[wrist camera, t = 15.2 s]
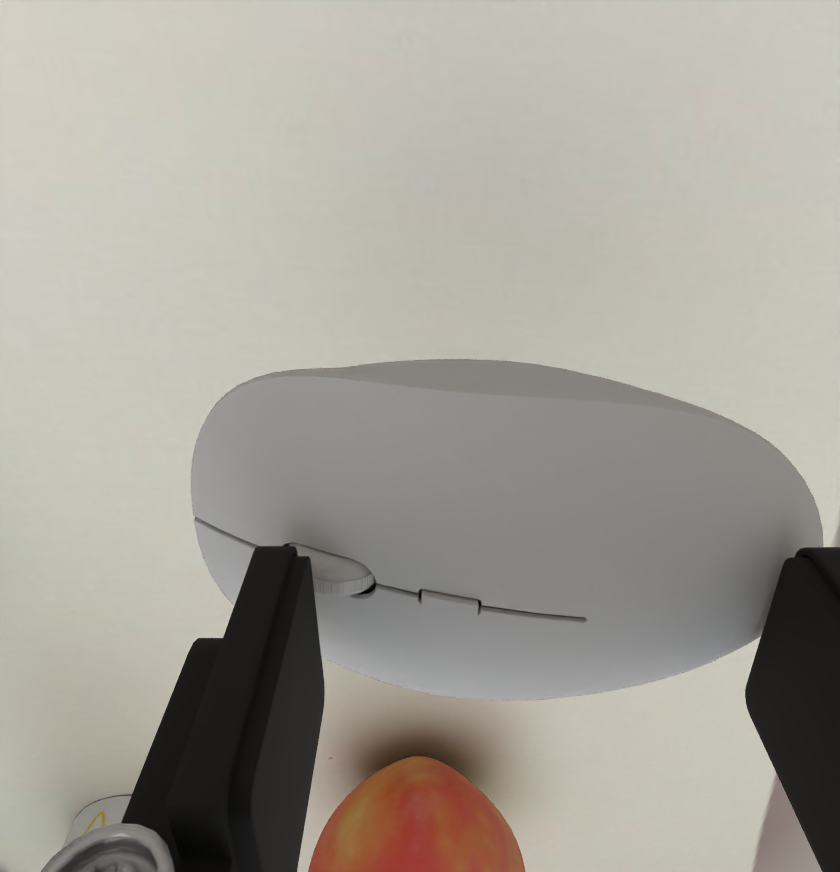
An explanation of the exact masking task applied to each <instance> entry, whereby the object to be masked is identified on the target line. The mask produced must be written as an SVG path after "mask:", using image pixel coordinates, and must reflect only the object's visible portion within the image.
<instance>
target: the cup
mask: <svg viewBox="0 0 840 872" xmlns="http://www.w3.org/2000/svg"><path fill="white" fill-rule="evenodd" d="M130 799H131V796H117V797H111V798H106V799H103V800H100V801H97V802H95V803H93V804H91V805H89V806H87V807H86V808H84V809H83V810H82V811H81V812H80V813H79V814H78V816H77V817H76V819H75V821H74V823H73V825H72V827H71V830H70V832H69V834H68V836H67V838H66V841H65V843H64V845H63V847H62V849H63V848H64V847H65V846H67V845H68V844H69V843H70V842H72V841H73V840H74V839H76V838H78V837H80V836H82V835H84V834H86V833H88V832H90V831H92V830H94V829H96V828H100V827H104V826H108V825H112V824H117V823H121V821H122V819H123V816H124V814H125V811H126V809H127V806H128V804H129V801H130ZM62 849H61V850H62Z"/></svg>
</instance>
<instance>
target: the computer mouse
mask: <svg viewBox="0 0 840 872" xmlns="http://www.w3.org/2000/svg"><path fill="white" fill-rule="evenodd" d="M191 496H192V507H193V515H194V516H195V519H194V523H195V527H196V532H197V537H198V542H199V546H200V549H201V552H202V555H203V558H204V561H205V563H206V565H207V567H208V570H209V572H210V574H211V576H212V578H213V579H214V581H215V582H216V584H217V585H218V587H219V588H220V590H221V591H222V593H223V594H224V595H225V596H226V597H227V598H228V600H229V601H230V602H231V603H232V604H234V605H235V603H236V600H237V597H238V594H239V592H240V589H241V586H242V583H243V580H244V577H245V574H246V572H247V569H248V566H249V563H250V560H251V557H252V554H253V552H254V550H255V548H256V547H257V546H294V547H296V549H297V553H298V556H309V557H310V560H311V567H312V576H313V585H314V594H315V604H316V613H317V622H318V631H319V640H320V650H321V657H323V658H325V659H327V660H329V661H331V662H334V663H336V664H338V665H341V666H343V667H345V668H348V669H350V670H352V671H355V672H358V673H360V674H363V675H366V676H368V677H371V678H374V679H376V680H379V681H383V682H386V683H389V684H392V685H396V686H399V687H402V688H406V689H411V690H415V691H419V692H423V693H428V694H434V695H440V696H446V697H453V698H466V699H478V700H490V701H508V700H543V699H552V698H561V697H570V696H579V695H588V694H596V693H601V692H606V691H611V690H616V689H621V688H627V687H632V686H637V685H642V684H645V683H649V682H653V681H656V680H660V679H664V678H667V677H670V676H674V675H677V674H680V673H683V672H687V671H689V670H692V669H695V668H697V667H700V666H702V665H705V664H707V663H710V662H712V661H714V660H716V659H719V658H721V657H723V656H725V655H727V654H729V653H731V652H733V651H735V650H737V649H739V648H741V647H743V646H745V645H747V644H749V643H751V642H752V641H754V640H755V639H757V638H759V637H760V636H761V635H762V632H763V629H764V626H765V622H766V619H767V616H768V612H769V609H770V606H771V602H772V599H773V596H774V593H775V589H776V586H777V583H778V579H779V576H780V573H781V569H782V566H783V564H784V561H785V560H786V559H787V558H791V557H795V555H796V553H797V551H798V550H799V549H800V548H804V547H823V531H822V525H821V520H820V516H819V511H818V508H817V506H816V503H815V500H814V498H813V495H812V494H811V492H810V490H809V488H808V486H807V484H806V482H805V481H804V479H803V478H802V476H801V475H800V474H799V472H798V471H797V470H796V468H795V467H794V466H793V465H792V463H791V462H790V461H789V460H788V459H787V458H786V457H785V456H784V455H783V454H782V453H781V452H780V451H779V450H778V449H777V448H776V447H774V446H773V445H772V444H771V443H770V442H768V441H767V440H765V439H764V438H762V437H761V436H759V435H758V434H756V433H755V432H753V431H751V430H749V429H747V428H745V427H743V426H742V425H740V424H738V423H736V422H734V421H732V420H730V419H727V418H725V417H723V416H720V415H718V414H716V413H713V412H711V411H709V410H706V409H704V408H701V407H698V406H695V405H692V404H689V403H686V402H683V401H680V400H677V399H674V398H671V397H668V396H665V395H662V394H659V393H655V392H651V391H648V390H644V389H640V388H637V387H634V386H631V385H627V384H624V383H620V382H616V381H612V380H609V379H605V378H601V377H596V376H592V375H588V374H583V373H579V372H574V371H570V370H566V369H561V368H555V367H549V366H543V365H537V364H528V363H519V362H510V361H494V360H471V359H436V360H414V361H395V362H384V363H374V364H366V365H358V366H351V367H342V368H319V369H299V370H290V371H282V372H274V373H270V374H267V375H263V376H259V377H256V378H253V379H251V380H249V381H247V382H244V383H242V384H240V385H238V386H236V387H235V388H233V389H232V390H231V391H229V392H228V393H226V394H225V395H224V396H223V397H222V398H221V399H220V400H219V401H218V402H217V403H216V404H215V406H214V407H213V409H212V410H211V412H210V413H209V415H208V416H207V418H206V420H205V422H204V424H203V426H202V428H201V430H200V432H199V435H198V438H197V441H196V444H195V449H194V454H193V460H192V471H191Z"/></svg>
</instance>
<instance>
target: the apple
mask: <svg viewBox="0 0 840 872" xmlns="http://www.w3.org/2000/svg"><path fill="white" fill-rule="evenodd" d="M308 872H525V867H524V863H523V859H522V855H521V852H520V849H519V846H518V843H517V841H516V838H515V836H514V834H513V832H512V830H511V828H510V826H509V825H508V823H507V822H506V820H505V819H504V817H503V816H502V814H501V813H500V812H499V810H498V809H497V808H496V807H495V806H494V804H493V803H492V802H491V801H490V800H489V799H488V798H487V797H486V796H485V795H484V794H483V793H482V792H481V791H480V790H479V789H478V788H477V787H476V786H475V785H474V784H473V783H472V782H470V781H469V780H468V779H467V778H465V777H464V776H463V775H461V774H460V773H459V772H457V771H456V770H454V769H453V768H451V767H450V766H448V765H446V764H444V763H442V762H440V761H438V760H436V759H433V758H430V757H425V756H412V757H408V758H405V759H401V760H399V761H397V762H395V763H393V764H390V765H388V766H386V767H384V768H383V769H381V770H379V771H377V772H376V773H374V774H373V775H372V776H370V777H369V778H367V779H366V780H365V781H363V782H362V783H361V784H360V785H359V786H357V787H356V788H355V789H354V790H353V791H352V792H351V793H350V794H349V795H348V796H347V797H346V798H345V799H344V800H343V802H342V803H341V804H340V805H339V806H338V807H337V809H336V810H335V811H334V813H333V814H332V816H331V817H330V819H329V820H328V822H327V824H326V826H325V827H324V829H323V831H322V833H321V835H320V837H319V840H318V842H317V845H316V847H315V850H314V853H313V856H312V859H311V863H310V866H309V870H308Z"/></svg>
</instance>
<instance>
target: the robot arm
mask: <svg viewBox="0 0 840 872" xmlns="http://www.w3.org/2000/svg"><path fill="white" fill-rule="evenodd" d="M745 697H746V704H747V709H748V712H749V714H750V717H751V719H752V721H753V723H754V725H755V727H756V729H757V732H758V734H759V736H760V738H761V740H762V742H763V745H764V747H765V749H766V751H767V753H768V755H769V758H770V760H771V762H772V764H773V766H774V768H775V770H776V773H777V775H778V777H779V779H780V781H781V783H782V786H783V788H784V790H785V792H786V794H787V796H788V799H789V801H790V803H791V804H792V807H793V809H794V811H795V814H796V816H797V818H798V820H799V822H800V824H801V827H802V829H803V831H804V833H805V835H806V837H807V840H808V842H809V844H810V846H811V848H812V850H813V852H814V854H815V857H816V859H817V861H818V863H819V865H820V867H821V870H822V871H823V872H840V547H804V548H800V549H799V550H798V551H797V553H796V555H795V557H791V558H787V559H786V560H785V561H784V564H783V566H782V569H781V573H780V576H779V579H778V583H777V586H776V589H775V593H774V596H773V599H772V602H771V606H770V609H769V612H768V616H767V619H766V622H765V626H764V629H763V632H762V635H761V639H760V642H759V645H758V649H757V652H756V655H755V659H754V662H753V665H752V668H751V672H750V675H749V678H748V682H747V685H746V690H745ZM323 708H324V677H323V668H322V659H321V650H320V640H319V631H318V622H317V613H316V604H315V594H314V585H313V576H312V567H311V560H310V557H309V556H298V553H297V549H296V547H294V546H257V547H256V548H255V550H254V552H253V554H252V557H251V560H250V563H249V566H248V569H247V572H246V574H245V577H244V580H243V583H242V586H241V589H240V592H239V594H238V597H237V600H236V603H235V606H234V609H233V612H232V614H231V617H230V620H229V623H228V626H227V629H226V632H225V634H224V637H223V638H198V639H197V640H196V641H195V642H194V643H193V645H192V647H191V649H190V651H189V653H188V655H187V658H186V660H185V663H184V665H183V668H182V670H181V673H180V675H179V678H178V680H177V683H176V686H175V688H174V691H173V693H172V696H171V698H170V701H169V703H168V706H167V708H166V711H165V713H164V716H163V718H162V721H161V723H160V726H159V728H158V731H157V733H156V736H155V738H154V741H153V743H152V746H151V748H150V751H149V753H148V756H147V758H146V761H145V763H144V766H143V769H142V771H141V774H140V776H139V779H138V781H137V784H136V786H135V789H134V791H133V794H132V796H131V799H130V801H129V804H128V806H127V809H126V811H125V814H124V816H123V819H122V821H121V823H117V824H112V825H108V826H104V827H100V828H96V829H94V830H92V831H90V832H88V833H86V834H84V835H82V836H80V837H78V838H76V839H74V840H73V841H72V842H70V843H69V844H68V845H67V846H65V847H64V848H63V849H62V850H61V851H59V852H58V853H57V854H56V855H54V856H53V857H52V859H51V860H50V861H49V862H48V863H47V865H46V866H45V867H44V868H43V869H42V871H41V872H297V867H298V861H299V855H300V849H301V843H302V837H303V831H304V824H305V818H306V812H307V806H308V800H309V794H310V788H311V782H312V776H313V770H314V764H315V757H316V751H317V745H318V739H319V733H320V727H321V721H322V715H323Z"/></svg>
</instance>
